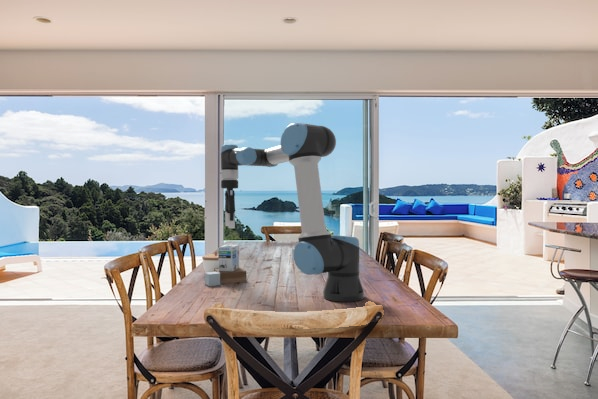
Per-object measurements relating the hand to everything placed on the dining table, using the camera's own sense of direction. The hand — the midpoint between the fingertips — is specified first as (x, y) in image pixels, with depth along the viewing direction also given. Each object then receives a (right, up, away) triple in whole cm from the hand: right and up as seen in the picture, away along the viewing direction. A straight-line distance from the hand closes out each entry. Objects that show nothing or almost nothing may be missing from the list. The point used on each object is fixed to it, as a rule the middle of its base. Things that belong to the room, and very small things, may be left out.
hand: (229, 227), depth 198 cm
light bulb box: (-1, -19, +1) cm, 19 cm away
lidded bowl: (-9, -24, +13) cm, 28 cm away
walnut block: (0, -24, +1) cm, 24 cm away
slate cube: (-6, -24, -9) cm, 26 cm away
